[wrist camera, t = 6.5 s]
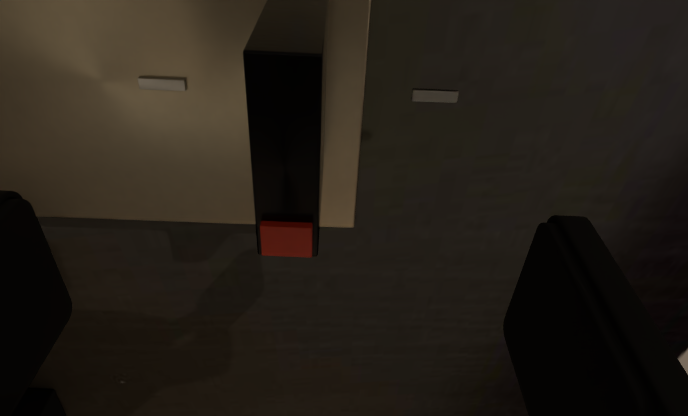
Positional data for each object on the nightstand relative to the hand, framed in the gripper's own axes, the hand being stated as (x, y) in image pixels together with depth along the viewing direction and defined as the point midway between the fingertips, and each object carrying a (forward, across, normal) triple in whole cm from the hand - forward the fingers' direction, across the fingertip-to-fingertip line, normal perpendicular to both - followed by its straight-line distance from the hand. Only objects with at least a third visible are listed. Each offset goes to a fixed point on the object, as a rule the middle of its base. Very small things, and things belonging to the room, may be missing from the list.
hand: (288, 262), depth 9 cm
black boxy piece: (+7, 0, 0) cm, 7 cm away
